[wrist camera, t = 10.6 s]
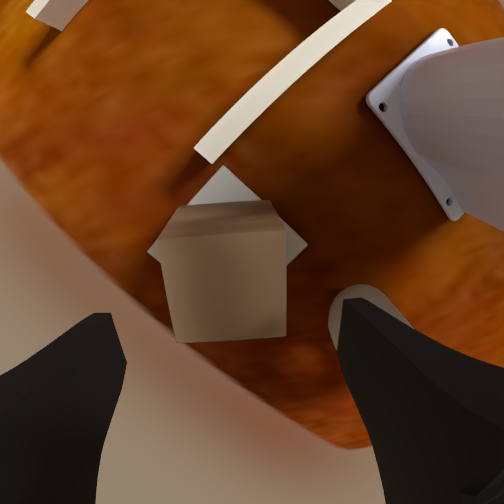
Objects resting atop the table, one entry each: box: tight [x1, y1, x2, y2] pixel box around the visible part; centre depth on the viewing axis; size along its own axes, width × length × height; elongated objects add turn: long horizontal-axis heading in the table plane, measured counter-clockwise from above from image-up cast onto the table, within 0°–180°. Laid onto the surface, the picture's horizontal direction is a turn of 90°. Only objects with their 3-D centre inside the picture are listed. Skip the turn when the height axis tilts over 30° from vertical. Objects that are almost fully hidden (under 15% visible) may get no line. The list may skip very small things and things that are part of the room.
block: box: [157, 200, 287, 343], centre depth 14 cm, size 4×4×5 cm
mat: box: [148, 165, 308, 265], centre depth 17 cm, size 6×6×1 cm
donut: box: [328, 284, 414, 350], centre depth 14 cm, size 10×4×10 cm, turn 46°
